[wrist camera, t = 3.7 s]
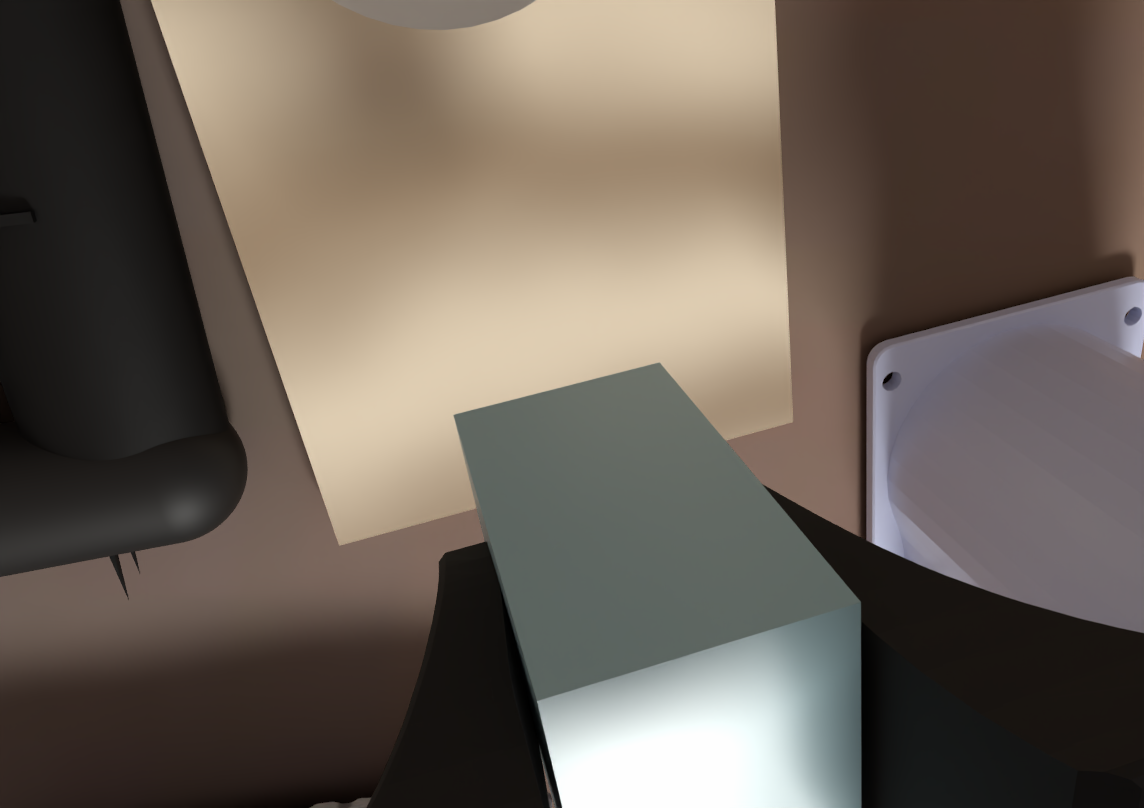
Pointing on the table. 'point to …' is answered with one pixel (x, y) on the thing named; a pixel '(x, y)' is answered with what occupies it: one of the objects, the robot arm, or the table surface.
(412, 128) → the winding board
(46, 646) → the table surface
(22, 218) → the door handle
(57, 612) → the table surface
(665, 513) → the pale blue block
